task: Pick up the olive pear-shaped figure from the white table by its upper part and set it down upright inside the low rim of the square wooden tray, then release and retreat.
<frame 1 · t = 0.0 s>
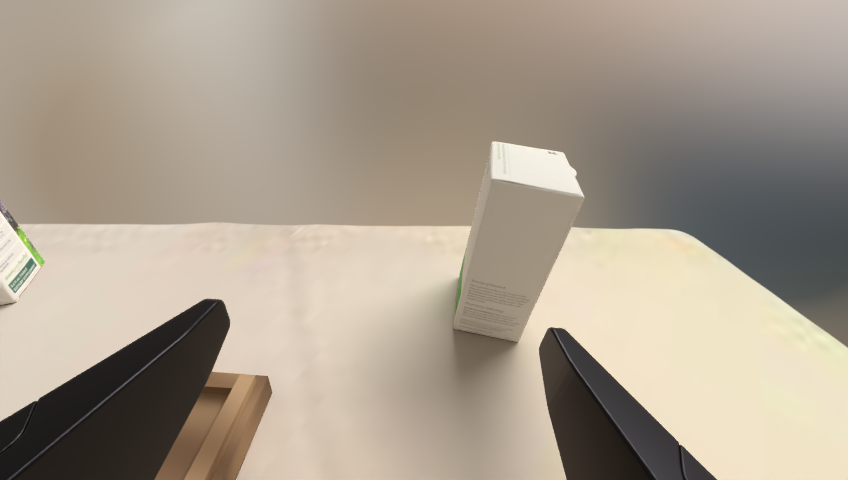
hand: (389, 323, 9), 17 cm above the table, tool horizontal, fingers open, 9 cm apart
square wooden tray: (138, 474, 19), on the table
skincare box: (487, 308, 34), on the table
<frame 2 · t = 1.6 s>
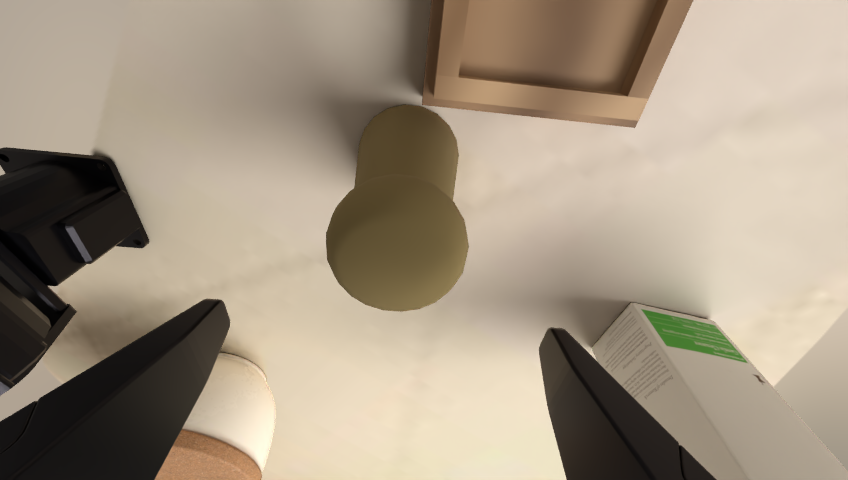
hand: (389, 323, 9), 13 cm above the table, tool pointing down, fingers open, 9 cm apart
lidded bowl: (230, 373, 33), on the table
olive pear-shaped figure: (408, 156, 20), on the table
skincare box: (644, 333, 29), on the table
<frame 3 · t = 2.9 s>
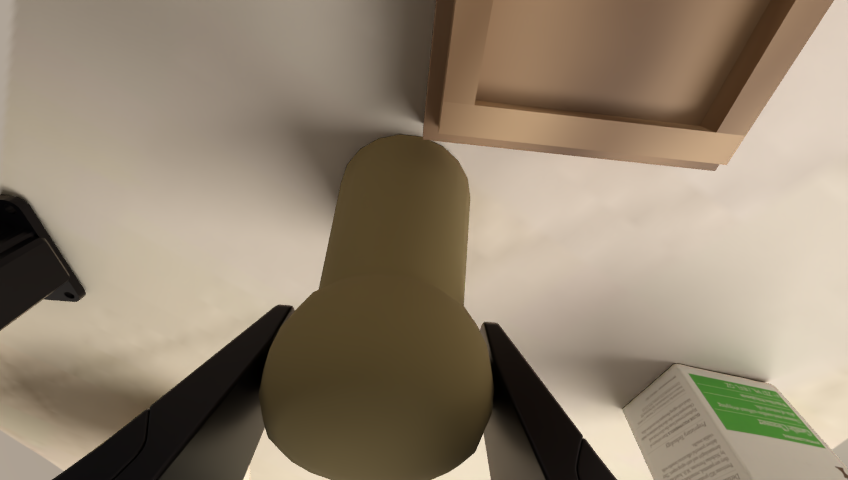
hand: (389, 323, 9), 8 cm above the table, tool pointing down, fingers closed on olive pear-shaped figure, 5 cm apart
olive pear-shaped figure: (405, 197, 16), on the table, touching gripper
skincare box: (687, 394, 24), on the table
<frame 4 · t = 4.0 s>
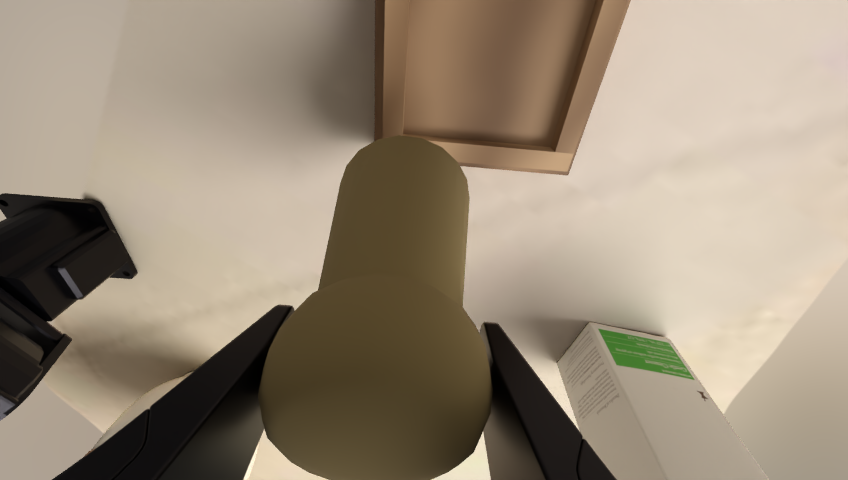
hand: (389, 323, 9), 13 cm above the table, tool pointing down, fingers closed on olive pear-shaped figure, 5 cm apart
lidded bowl: (218, 388, 35), on the table
olive pear-shaped figure: (405, 198, 16), point 6 cm above the table, touching gripper
square wooden tray: (486, 51, 17), on the table
skincare box: (606, 349, 31), on the table
when the fingers open (10 cm above the table, at t = 5.2 s): olive pear-shaped figure stays where it is, resting on square wooden tray.
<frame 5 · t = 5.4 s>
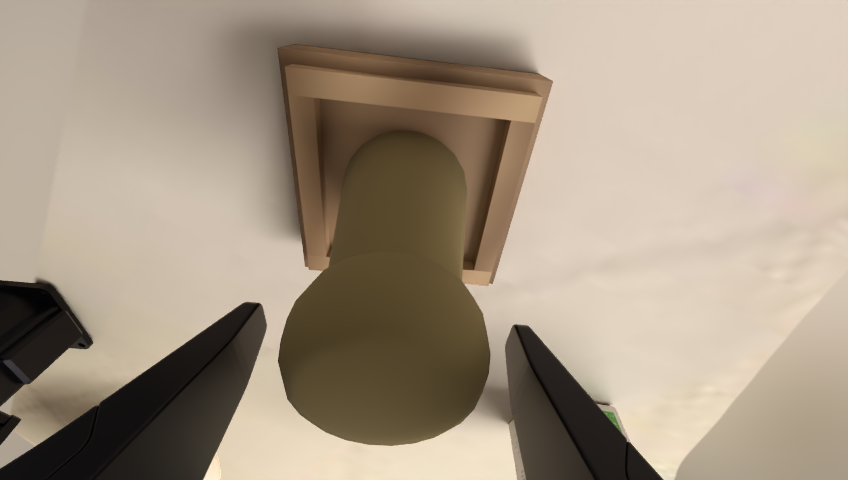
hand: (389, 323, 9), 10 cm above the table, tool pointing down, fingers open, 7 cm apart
olive pear-shaped figure: (405, 190, 16), point 2 cm above the table, touching square wooden tray
square wooden tray: (409, 174, 18), on the table
skincare box: (556, 413, 32), on the table
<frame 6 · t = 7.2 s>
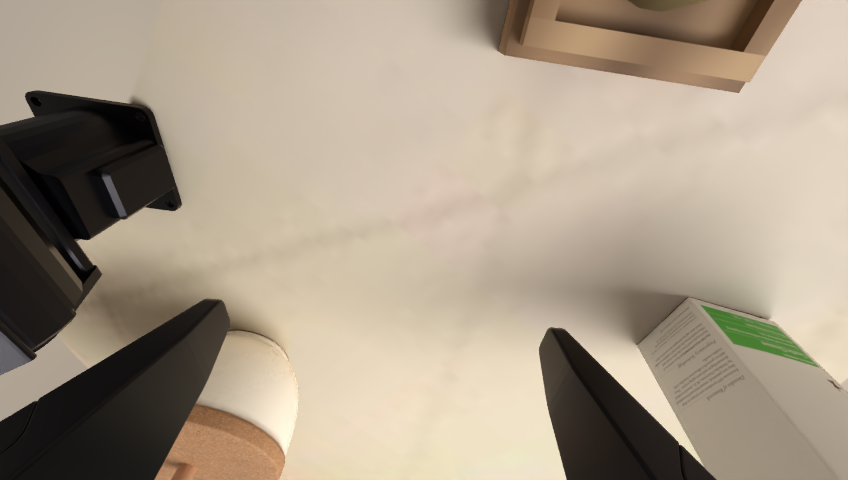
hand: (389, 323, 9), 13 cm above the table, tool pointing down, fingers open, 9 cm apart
lidded bowl: (251, 353, 31), on the table
skincare box: (696, 332, 27), on the table
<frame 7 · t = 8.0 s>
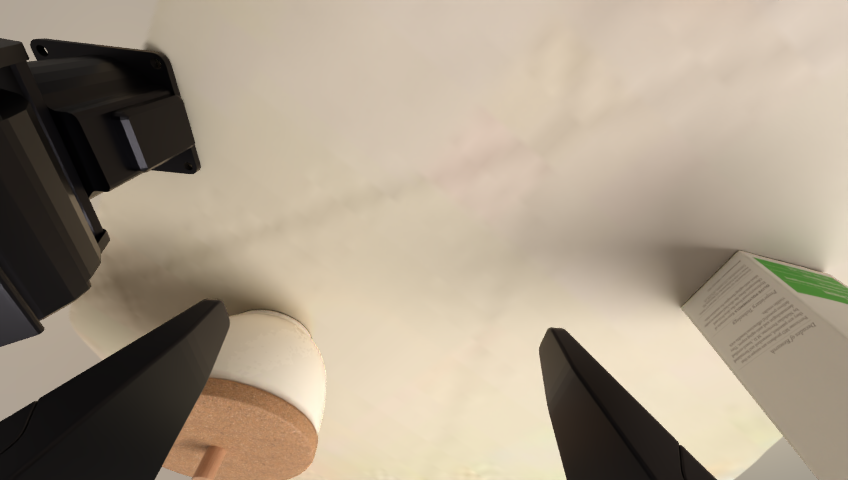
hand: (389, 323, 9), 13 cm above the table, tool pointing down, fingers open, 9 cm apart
lidded bowl: (273, 335, 30), on the table
skincare box: (744, 290, 26), on the table
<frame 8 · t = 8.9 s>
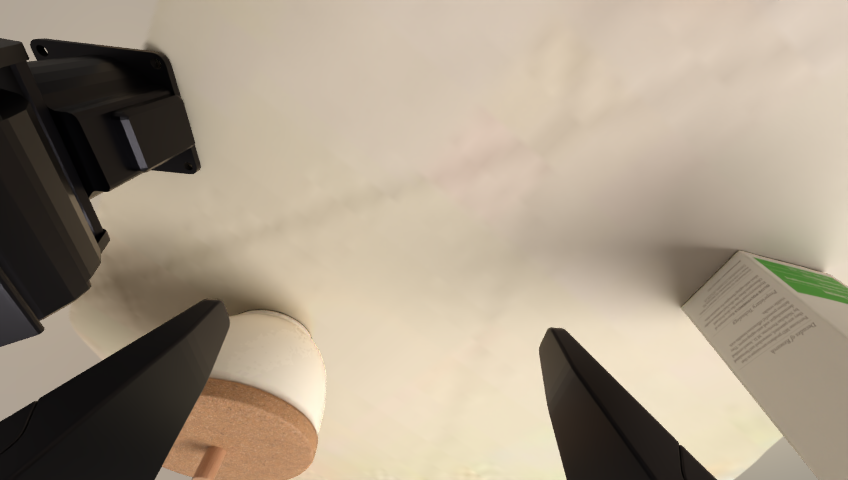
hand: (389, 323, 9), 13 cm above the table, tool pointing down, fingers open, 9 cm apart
lidded bowl: (273, 335, 30), on the table
skincare box: (744, 290, 26), on the table
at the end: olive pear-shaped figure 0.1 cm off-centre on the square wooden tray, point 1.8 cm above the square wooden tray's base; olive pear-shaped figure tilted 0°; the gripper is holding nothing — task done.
